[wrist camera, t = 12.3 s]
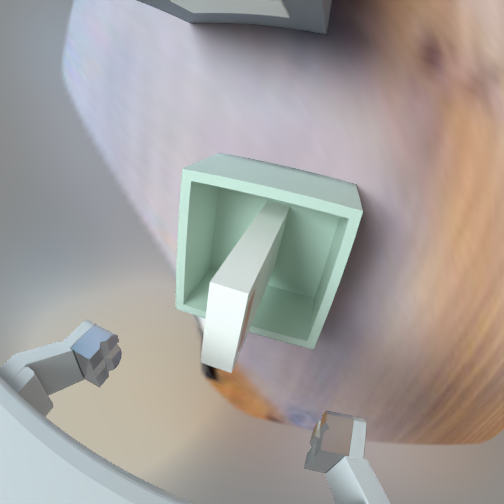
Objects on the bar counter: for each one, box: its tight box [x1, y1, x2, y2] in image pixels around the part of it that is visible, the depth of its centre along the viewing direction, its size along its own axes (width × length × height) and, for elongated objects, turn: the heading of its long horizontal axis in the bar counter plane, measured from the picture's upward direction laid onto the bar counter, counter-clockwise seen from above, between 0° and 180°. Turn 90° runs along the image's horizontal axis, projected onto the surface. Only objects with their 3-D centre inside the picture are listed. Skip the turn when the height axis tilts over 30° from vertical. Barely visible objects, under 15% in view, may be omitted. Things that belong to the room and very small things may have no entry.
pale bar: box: [201, 201, 290, 373], centre depth 18 cm, size 2×5×11 cm, turn 170°
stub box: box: [176, 153, 363, 349], centre depth 21 cm, size 10×10×6 cm
